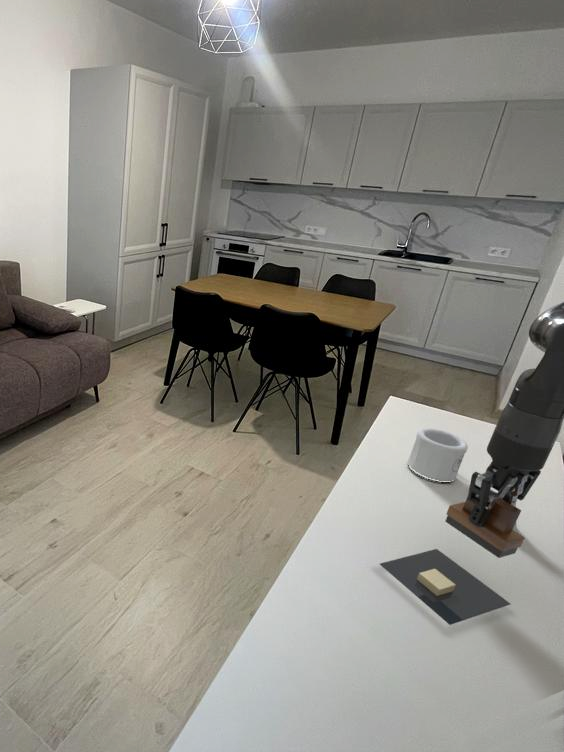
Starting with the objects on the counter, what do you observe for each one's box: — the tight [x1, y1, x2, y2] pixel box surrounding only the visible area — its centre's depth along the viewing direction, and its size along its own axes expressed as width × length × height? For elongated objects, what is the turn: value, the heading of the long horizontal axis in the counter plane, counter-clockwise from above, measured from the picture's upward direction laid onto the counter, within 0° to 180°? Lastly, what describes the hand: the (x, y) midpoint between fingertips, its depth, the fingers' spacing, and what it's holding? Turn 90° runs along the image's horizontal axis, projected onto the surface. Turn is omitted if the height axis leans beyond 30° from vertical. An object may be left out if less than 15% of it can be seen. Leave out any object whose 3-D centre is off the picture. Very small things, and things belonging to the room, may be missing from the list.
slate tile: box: [379, 548, 511, 626], centre depth 88 cm, size 15×14×1 cm
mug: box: [407, 427, 469, 484], centre depth 125 cm, size 14×11×10 cm
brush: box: [444, 494, 525, 559], centre depth 85 cm, size 4×10×8 cm, turn 20°
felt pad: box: [417, 569, 455, 596], centre depth 87 cm, size 4×4×2 cm
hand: (485, 521), depth 85 cm, fingers closed on brush, 4 cm apart
